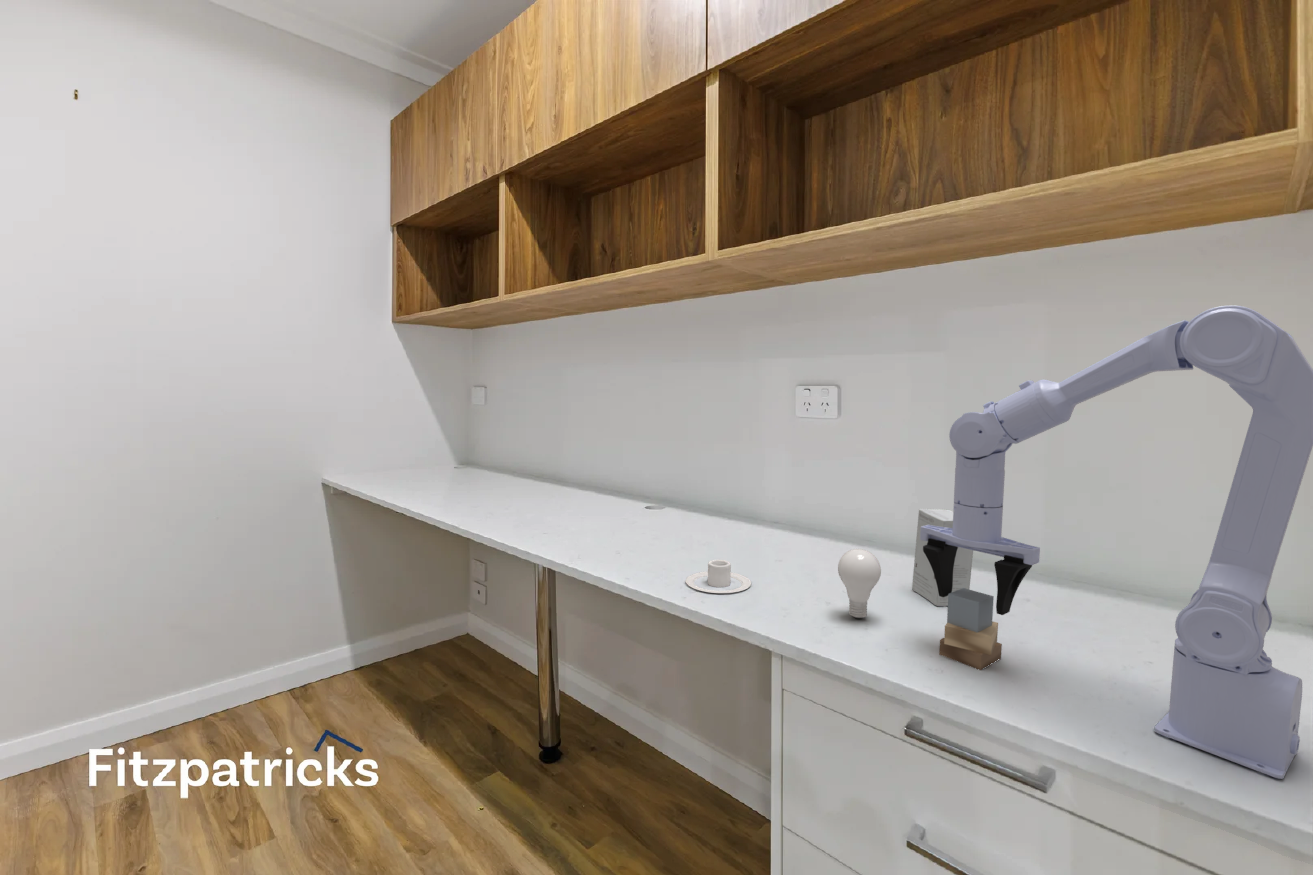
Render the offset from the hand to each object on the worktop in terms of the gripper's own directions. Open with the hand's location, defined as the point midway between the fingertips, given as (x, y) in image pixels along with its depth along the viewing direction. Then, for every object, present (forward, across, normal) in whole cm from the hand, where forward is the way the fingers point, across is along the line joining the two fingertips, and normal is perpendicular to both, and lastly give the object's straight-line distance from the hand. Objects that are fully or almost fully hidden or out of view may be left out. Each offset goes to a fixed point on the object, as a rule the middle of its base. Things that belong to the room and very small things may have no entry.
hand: (972, 603), depth 79 cm
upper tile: (+5, 0, 0) cm, 5 cm away
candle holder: (+8, +42, +8) cm, 43 cm away
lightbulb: (+8, +17, +1) cm, 19 cm away
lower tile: (+8, 0, 0) cm, 8 cm away
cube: (+3, 0, 0) cm, 3 cm away
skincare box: (+8, +14, -18) cm, 24 cm away
